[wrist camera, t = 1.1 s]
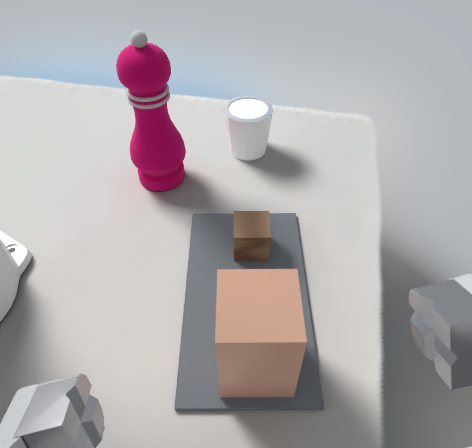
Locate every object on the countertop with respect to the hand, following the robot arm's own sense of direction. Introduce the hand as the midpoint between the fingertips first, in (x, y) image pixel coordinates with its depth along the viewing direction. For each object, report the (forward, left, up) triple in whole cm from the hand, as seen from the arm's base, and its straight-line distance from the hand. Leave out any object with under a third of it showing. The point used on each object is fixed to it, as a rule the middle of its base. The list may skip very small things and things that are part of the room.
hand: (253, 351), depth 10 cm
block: (-18, +20, -28) cm, 39 cm away
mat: (-14, +15, -29) cm, 35 cm away
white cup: (-32, +34, -29) cm, 55 cm away
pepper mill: (-36, +21, -29) cm, 51 cm away
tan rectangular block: (-8, +10, -28) cm, 31 cm away
